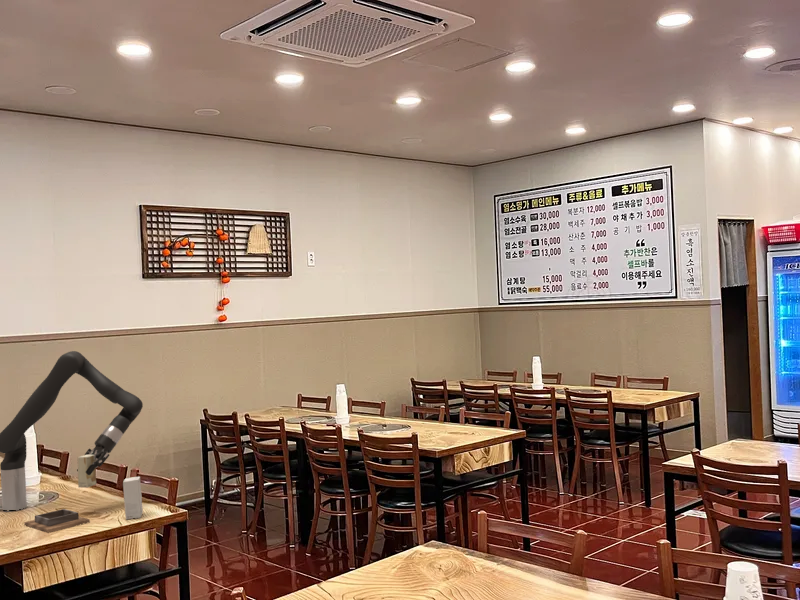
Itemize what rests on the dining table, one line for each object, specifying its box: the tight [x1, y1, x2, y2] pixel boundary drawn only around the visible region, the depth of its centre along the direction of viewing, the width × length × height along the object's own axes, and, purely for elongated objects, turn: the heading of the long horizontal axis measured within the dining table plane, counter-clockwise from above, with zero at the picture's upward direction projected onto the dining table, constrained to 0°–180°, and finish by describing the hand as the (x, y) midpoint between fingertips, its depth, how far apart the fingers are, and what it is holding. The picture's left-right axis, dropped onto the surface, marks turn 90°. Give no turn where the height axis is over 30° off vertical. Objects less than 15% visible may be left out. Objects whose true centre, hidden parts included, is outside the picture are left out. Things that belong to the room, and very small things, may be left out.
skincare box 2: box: [122, 476, 144, 520], centre depth 309 cm, size 8×6×15 cm
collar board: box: [24, 508, 91, 534], centre depth 304 cm, size 20×16×4 cm
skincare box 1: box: [77, 454, 97, 488], centre depth 318 cm, size 6×4×12 cm
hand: (83, 472), depth 317 cm, fingers closed on skincare box 1, 6 cm apart
